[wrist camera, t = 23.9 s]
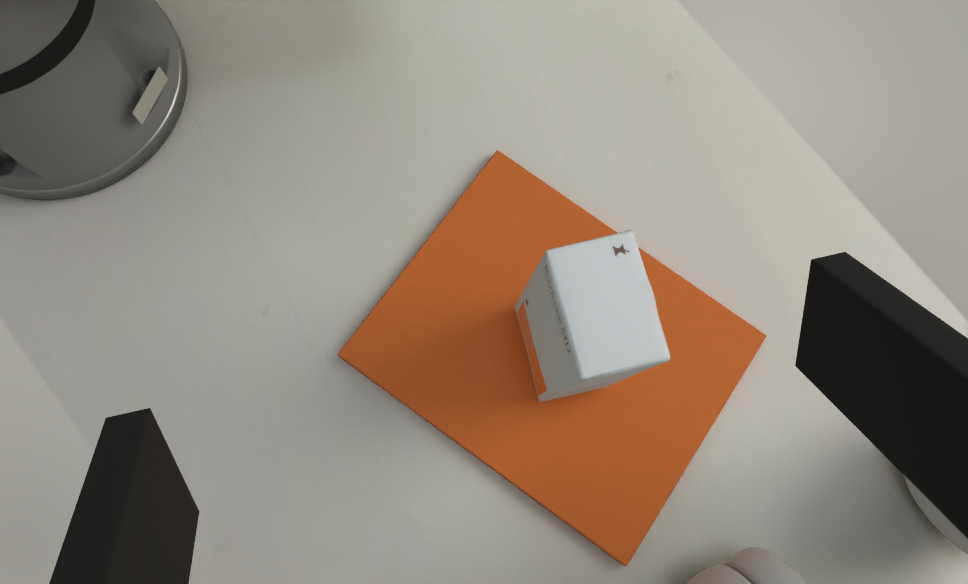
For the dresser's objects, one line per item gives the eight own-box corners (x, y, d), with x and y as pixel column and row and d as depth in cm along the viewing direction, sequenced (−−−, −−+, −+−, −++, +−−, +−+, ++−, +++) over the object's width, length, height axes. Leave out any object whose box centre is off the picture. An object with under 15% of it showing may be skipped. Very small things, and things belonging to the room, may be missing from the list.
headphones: (927, 401, 44) (1300, 349, 25) (1012, 527, 42) (1476, 572, 24) (656, 575, 40) (856, 666, 21) (739, 720, 39) (1031, 952, 20)
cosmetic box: (511, 306, 43) (542, 245, 31) (579, 291, 43) (635, 225, 32) (537, 407, 41) (580, 382, 30) (607, 389, 42) (676, 359, 30)
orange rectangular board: (338, 356, 42) (337, 354, 41) (496, 153, 46) (497, 149, 45) (623, 565, 40) (626, 566, 40) (762, 337, 44) (767, 335, 43)
